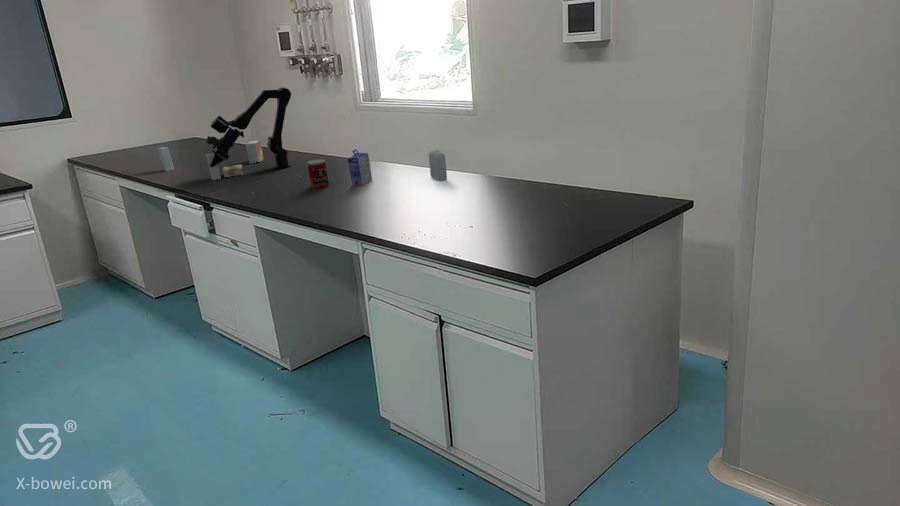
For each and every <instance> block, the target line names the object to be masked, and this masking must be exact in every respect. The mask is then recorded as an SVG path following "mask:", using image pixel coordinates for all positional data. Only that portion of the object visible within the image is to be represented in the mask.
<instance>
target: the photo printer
mask: <svg viewBox="0 0 900 506" xmlns="http://www.w3.org/2000/svg"><path fill="white" fill-rule="evenodd" d="M428 161H429V170H430V177H431V178H433V179H434V180H437V181H440V182H445V181H446V180H447V179H448V175H447V162H446V155H445V154H444V153H443V152H442V151H441V150H440V149H431V150H430V151H429V152H428Z"/></svg>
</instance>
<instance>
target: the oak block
mask: <svg viewBox="0 0 900 506" xmlns="http://www.w3.org/2000/svg"><path fill="white" fill-rule="evenodd" d="M243 169H244V168H243V164H237V165H236V164H234V165H229V166H223V167H222V171H223V177H224V178H225V177H229V178H231V177H230V176H235V177H238V176H237V175H242V176H244V175H245V174H244V170H243ZM243 174H244V175H243Z"/></svg>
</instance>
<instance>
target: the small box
mask: <svg viewBox="0 0 900 506" xmlns="http://www.w3.org/2000/svg"><path fill="white" fill-rule="evenodd" d="M261 144H262V143H261V140H252V141H248V142H247V143H245V148H246V152H247V157H248V162H249V163H248V164H257V163H256V162H260V161H261V162H262V161H264V160H263V159H264V153H263V149H262V145H261ZM261 162H260V163H261Z"/></svg>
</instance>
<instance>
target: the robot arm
mask: <svg viewBox="0 0 900 506" xmlns="http://www.w3.org/2000/svg"><path fill="white" fill-rule="evenodd" d="M291 97H292V93H291V90H290V89H289V88H286V87H279V88H278V89H264V90H262V91H261V93H260V94H259V95H258V96H257V97H256V98H255V99H254V101H253V102H252V103H251V104H250V105H249V106H248V107H247V109H246V110H244V111H243V112H241V113H240V114H239V115H237V116H235V118H234V119H233V120H229V121H227V120H226V119H224V118H223V117H222V116H221V115H218V116H217V117H216V118H214V120H212V122H211V123H210V127H209V128H211V129H213V130H214V131H216V133H217V132H218V133H219V134H224V135H223V136H221V137H220V138H217V137H216V136H210V135H207V138H206V141H205V143H206V144H208V145H212V146H211V151H212V152H211V153H214V158H213V160H212V162H211V165H210V167H214V166H215V165H217V164H218V165H219V164H220V163H222V162H223V161H228V160H229V158H230V154H229V151H230V150H231V149H232V148H233V147H234V146H235V142H237V141H238V138H239V137H241V138H243V139H244V138H245V135H244V133H245V132H244V131H243V130H246V129H247V128H248V126H249V125H250V122H251V121H252V119H253V117H254V116H255V114H256V113H257V112H258V111H259V110H260V109H261V107H262V106H263V105H264V104H265V103H266V102H267V101H268V100H269V99H276V103H277V104H276V105H277V106H276V113H275V119H274V125H273V131H272V135H271V136H268V137H267V143H266V145H267V149H268V150H269V151H270V152H272V153H273V154H274V161H275V166H273V168H274V169H278V168H280V170H281V168H282V169H286V168H289V167H292V165H291V164H289V159H288V151H287V150H286V149H284V148H283V138H282V134H283V127H284V123H285V116H286V110H287V107H288V105H289V102H290V100H291ZM240 130H242V131H240Z"/></svg>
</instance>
